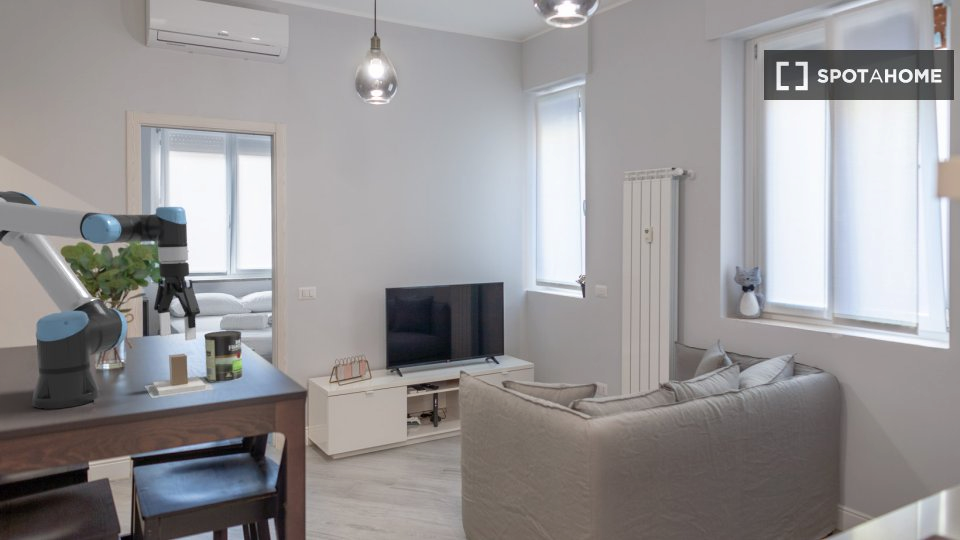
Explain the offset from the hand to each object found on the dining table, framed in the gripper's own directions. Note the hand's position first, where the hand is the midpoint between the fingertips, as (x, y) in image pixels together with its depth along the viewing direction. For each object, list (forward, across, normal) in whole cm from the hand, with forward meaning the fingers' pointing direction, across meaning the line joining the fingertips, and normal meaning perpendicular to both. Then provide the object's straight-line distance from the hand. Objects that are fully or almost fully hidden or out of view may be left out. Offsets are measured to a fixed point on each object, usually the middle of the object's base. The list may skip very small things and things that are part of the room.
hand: (178, 337), depth 187 cm
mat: (+15, 0, 0) cm, 15 cm away
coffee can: (+15, 0, -14) cm, 21 cm away
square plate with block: (+14, 0, 0) cm, 14 cm away
